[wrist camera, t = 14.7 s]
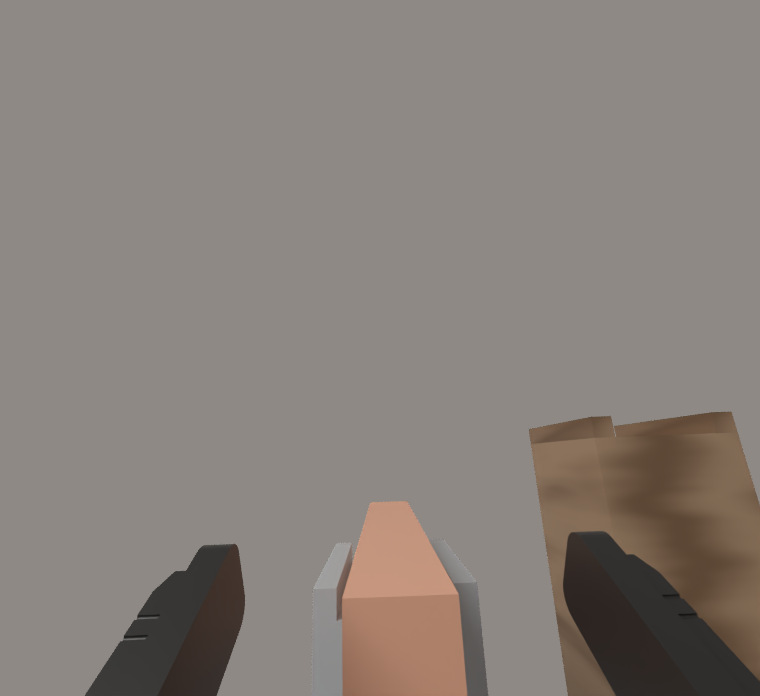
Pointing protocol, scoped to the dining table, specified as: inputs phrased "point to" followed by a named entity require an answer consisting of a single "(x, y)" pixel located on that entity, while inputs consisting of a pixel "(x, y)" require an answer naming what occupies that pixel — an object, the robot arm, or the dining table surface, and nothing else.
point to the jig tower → (655, 520)
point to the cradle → (330, 621)
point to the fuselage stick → (400, 613)
